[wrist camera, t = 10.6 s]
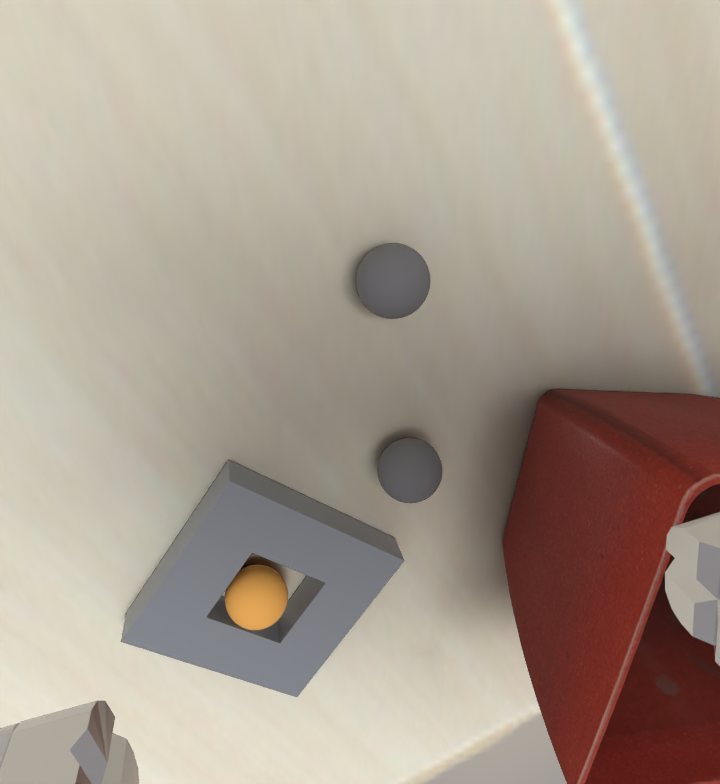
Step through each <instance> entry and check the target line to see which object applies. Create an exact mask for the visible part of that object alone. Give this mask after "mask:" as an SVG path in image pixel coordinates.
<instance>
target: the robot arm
mask: <svg viewBox="0 0 720 784" xmlns="http://www.w3.org/2000/svg"><path fill="white" fill-rule="evenodd" d="M666 550H667V551H668V552H669V553H670V554H671V555H672V556H673V557H674V558H675V559H674V560H673V561H672V563H671V564H670V566H669V567H668V569H667V570H666V572H665V591H666V594H667V597H668V600H669V603H670V605H671V608H672V610H673V612H674V613H675V615H676V616H677V618H678V620H679V621H680V623H681V624H682V625H683V626H684V627H685V628H686V630H687V631H688V632H689V633H690V634H691V635H692V636H693V637H695V638H698V639H700V640H702V641H705V642H707V643H709V644H712V645H714V655H715V662H716V663H717V664H718V665H719V666H720V512H718V513H715V514H712V515H708V516H705V517H702V518H699V519H696V520H692V521H689V522H686V523H683V524H680V525H676V526H673V527H671V529H670V531H669V532H668V534H667V540H666ZM114 720H115V716H114V714H113V713H112V711H111V710H110V708H109V706H108V705H107V703H106V701H94V702H91V703H87V704H83V705H80V706H76V707H72V708H69V709H65V710H61V711H58V712H54V713H51V714H47V715H43V716H40V717H36V718H32V719H29V720H25V721H21V723H17V724H13V725H10V726H6V727H2V728H0V784H139V776H138V767H137V763H136V759H135V756H134V752H133V750H132V748H131V746H130V744H129V742H128V740H127V739H126V738H123V737H121V736H119V735H116V734H114V733H113V726H114Z"/></svg>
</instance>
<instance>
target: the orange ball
mask: <svg viewBox="0 0 720 784" xmlns="http://www.w3.org/2000/svg"><path fill="white" fill-rule="evenodd" d="M287 601H288V591H287V586H286V583H285V581H284V579H283V578H282V576H281V575H280V574H279V573H278V572H277V571H276V570H274V569H273V568H271V567H269V566H265V565H251V566H247V567H245V568H243V569H241V570H240V571H239V572H238V573H237V574H236V576H235V577H234V579H233V580H232V581H231V583H230V584H229V586H228V587H227V589H226V593H225V605H226V609H227V612H228V614H229V616H230V617H231V619H232V620H233V621H234V622H235V623H236V624H238V625H239V626H241V627H243V628H245V629H249V630H261V629H264V628H267V627H269V626H271V625H273V624H274V623H275V622H276V621H278V619H279V618H280V617H281V616H282V614H283V612H284V611H285V608H286V605H287Z"/></svg>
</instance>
